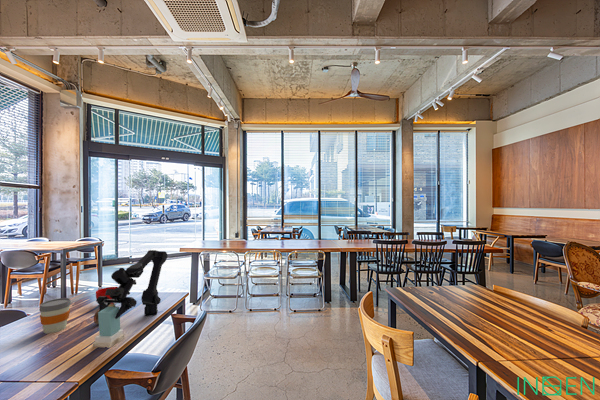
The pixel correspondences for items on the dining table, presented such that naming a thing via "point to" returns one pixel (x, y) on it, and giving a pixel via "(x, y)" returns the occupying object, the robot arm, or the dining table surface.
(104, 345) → the tower base
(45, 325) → the reusable coffee cup
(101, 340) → the tower top
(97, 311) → the tin
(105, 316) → the teal pillar
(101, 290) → the ceramic cup
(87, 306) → the dining table surface
